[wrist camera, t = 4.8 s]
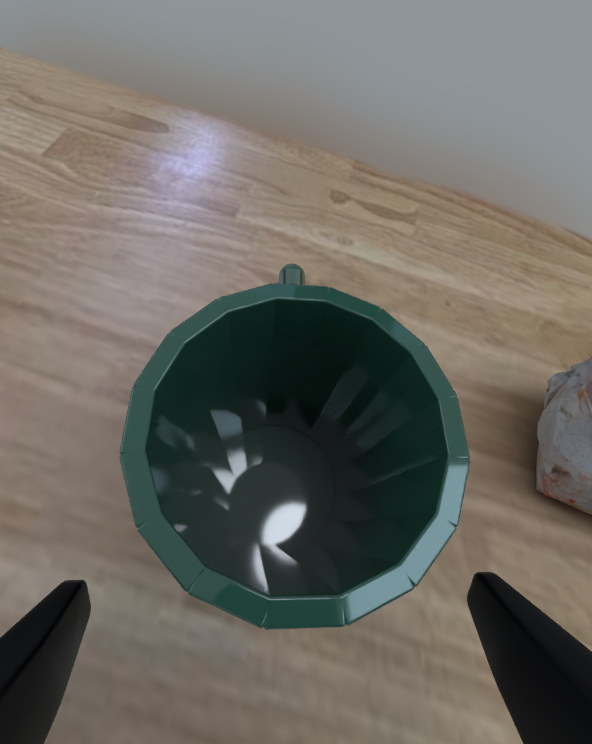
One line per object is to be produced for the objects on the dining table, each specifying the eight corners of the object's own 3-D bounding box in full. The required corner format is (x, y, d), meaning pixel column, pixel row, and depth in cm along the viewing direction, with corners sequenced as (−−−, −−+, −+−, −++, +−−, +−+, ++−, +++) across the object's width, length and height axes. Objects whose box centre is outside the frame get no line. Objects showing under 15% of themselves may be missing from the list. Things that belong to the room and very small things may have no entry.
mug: (345, 563, 18) (504, 622, 6) (196, 565, 17) (81, 636, 6) (335, 379, 22) (422, 218, 10) (214, 375, 21) (168, 197, 10)
